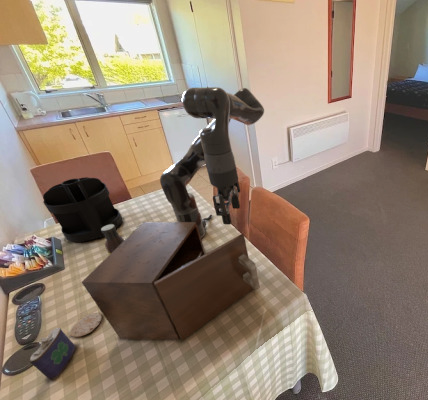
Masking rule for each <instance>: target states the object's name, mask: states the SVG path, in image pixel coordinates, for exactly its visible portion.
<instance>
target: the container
mask: <svg viewBox="0 0 428 400" xmlns="http://www.w3.org/2000/svg"><path fill="white" fill-rule="evenodd" d="M42 198H43V205H44V206H45V207H46V209H47V210H48V212H49V213H51V214H52V215H53V216H54V218H55V220H56V221H57V222H58V224H59V226H60V228H61V233H62V234H63V236H64V237H65V239H66V240H67V241H69V242H72V243H82V242H88V241H92V240H95V239H100V238H102V237H105V236H104V234H103V233H102V231H101V228H102V227H104V226H106V225H110V224H113V225H115V227H116V229H117V228H118V227H119V226H121V224H122V223H123V216H122V214H121V212H120V210H118V208H115V206H114V204H113V202H112V200H111V198H110V191H109V189H108V186H107V184H106V183H104V182H103V181H101V179H99V178H97V177H87V176H86V177H79V178H71V179H70V178H69V179H66V180H64V181H62V182H61V183H59V184H58V183H57V184H55V185H53V186H51V187H50V188H49V189H48V190H47V191H45V192H44V193H43V195H42Z"/></svg>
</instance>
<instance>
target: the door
mask: <svg viewBox="0 0 428 400" xmlns="http://www.w3.org/2000/svg"><path fill="white" fill-rule="evenodd" d="M257 269H258V268H257V265H256V262H254V261H253V260H252V259H251V258H249V253H248V248H247V244H246V239H245V234H244V233H241V234H239V235H237V236H235V237H233V238H232V239H230V240H228V241H225V242H224V243H223V244H221V245H219V246H217V247H215V248H214V249H211V250H210V251H208V252H206V254H205V255H203V256H201V257H199V258H197V259H195V260H194V261H192V262H190V263H188V264H186V265H185V266H183V267H181V268H179V269H177V270H176V271H174V272H172V273H170V274H168V275H166V276H165V277H163V278H161V279H159V280H157V281H156V282H154V284H155V286H156V288H157V290H158V292H159V294H160V297H161V299H162V301H163V303H164V305H165V307H166V309H167V311H168V313H169V315H170V317H171V319H172V321H173V323H174V325H175V328H176V330H177V332H178V334H179V336H180V338H179V339H180V340H181V341H183V340H185V339H187V337H189V336H190V335H192V334H193V333H194V332H196V331H197V330H198V329H200V328H202V327H203V326H204V325H206V324H207V323H208V322H209V321H211V320H213V319H214V318H215V317H216V316H218V315H219V314H220V313H222V312H223V311H225V310H226V309H227V308H229V307H230V306H232V305H233V304H235V303H236V302H237V301H238V300H240V299H241V298H243V297H244V296H245V295H246V294H248V293H250V292H251V291H252V290H259V289H260V287H261V286H260V280H259V275H258V270H257Z"/></svg>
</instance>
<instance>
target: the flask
mask: <svg viewBox="0 0 428 400" xmlns="http://www.w3.org/2000/svg"><path fill="white" fill-rule="evenodd" d="M38 341H40V342H41V343H40V346H39V348H37V350H36V351H34V352H33V353H32V354H31V356H30V357H29V364H30V365H33V367H35V368H36V369H37V370H38V371H40V373H41V374H42V375H44V377H46V378H47V379H48V380H49V381H52V380H53V381H54V380H55V379H57V378H58V377H59V376H60V375H61V374H62V373H63V371H64V370H65V369H66V368H67V367H68V366H69V365H68V364H69V363H70V362H71V360H72V358H73V356H74V355H75V352H76V351H77V346H76V344H74V342H73V341H72V340H71V339H70V338H69V337H68V336H67V335H66V334H65V332H64V331H63V330H62V328H60V327H57V328H54V329H51V331H50V332H49V333H48V335H47V337H43V336H42V337H41V338H40V339H39V340H38Z"/></svg>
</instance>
